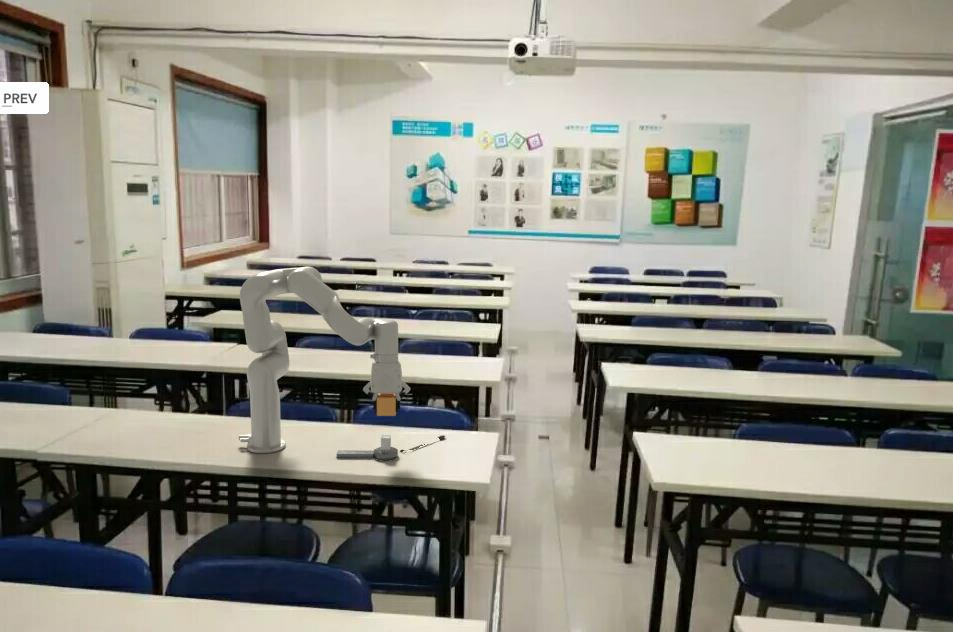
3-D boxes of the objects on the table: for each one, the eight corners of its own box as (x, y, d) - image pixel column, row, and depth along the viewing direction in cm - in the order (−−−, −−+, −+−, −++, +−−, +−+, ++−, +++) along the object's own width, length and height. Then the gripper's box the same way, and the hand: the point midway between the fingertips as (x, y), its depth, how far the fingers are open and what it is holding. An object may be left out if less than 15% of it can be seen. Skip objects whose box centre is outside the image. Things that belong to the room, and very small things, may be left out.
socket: (376, 415, 217) (376, 398, 216) (378, 410, 222) (378, 392, 221) (395, 415, 217) (395, 398, 216) (396, 410, 223) (396, 392, 222)
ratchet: (335, 460, 217) (335, 440, 216) (338, 451, 225) (338, 432, 224) (397, 461, 219) (397, 440, 217) (398, 452, 226) (398, 432, 225)
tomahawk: (412, 460, 223) (412, 457, 222) (398, 453, 227) (399, 450, 227) (455, 443, 238) (455, 440, 238) (441, 437, 242) (442, 434, 242)
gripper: (358, 360, 212) (359, 415, 215) (412, 360, 213) (412, 414, 216) (361, 355, 220) (361, 407, 223) (413, 355, 221) (413, 407, 224)
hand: (386, 410), depth 220 cm, fingers closed on socket, 6 cm apart
